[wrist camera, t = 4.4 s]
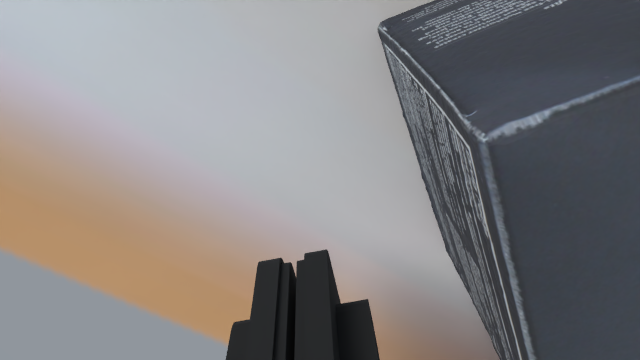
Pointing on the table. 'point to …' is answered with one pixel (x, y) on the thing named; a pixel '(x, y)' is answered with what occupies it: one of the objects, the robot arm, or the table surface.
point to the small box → (531, 163)
